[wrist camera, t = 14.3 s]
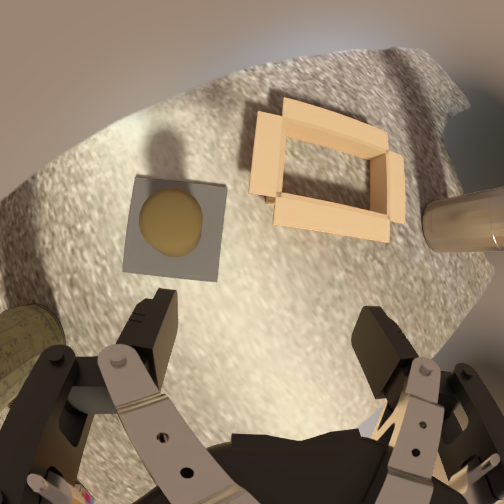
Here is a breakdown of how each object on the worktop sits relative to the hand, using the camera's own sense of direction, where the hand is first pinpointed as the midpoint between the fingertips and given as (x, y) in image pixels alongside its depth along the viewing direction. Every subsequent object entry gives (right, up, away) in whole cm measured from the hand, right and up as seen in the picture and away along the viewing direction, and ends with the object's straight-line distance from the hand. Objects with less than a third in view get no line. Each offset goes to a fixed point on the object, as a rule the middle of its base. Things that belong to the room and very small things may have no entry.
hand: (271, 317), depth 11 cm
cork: (-9, +5, +19) cm, 22 cm away
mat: (-10, +5, +19) cm, 22 cm away
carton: (+9, +13, +24) cm, 29 cm away
